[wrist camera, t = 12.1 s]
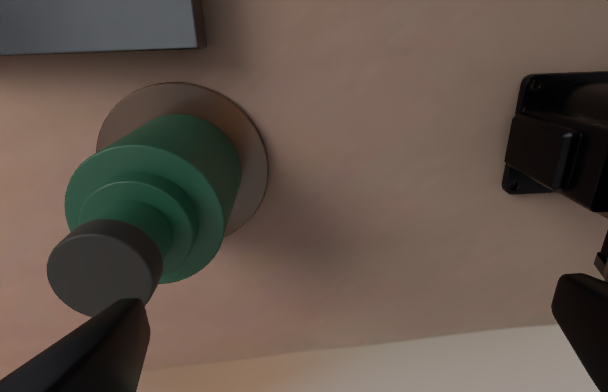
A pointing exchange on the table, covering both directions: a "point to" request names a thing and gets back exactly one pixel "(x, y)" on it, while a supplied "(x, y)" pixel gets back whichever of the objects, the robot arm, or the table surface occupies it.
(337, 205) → the table surface
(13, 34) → the black flat square slab
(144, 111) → the walnut coaster
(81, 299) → the green bottle
